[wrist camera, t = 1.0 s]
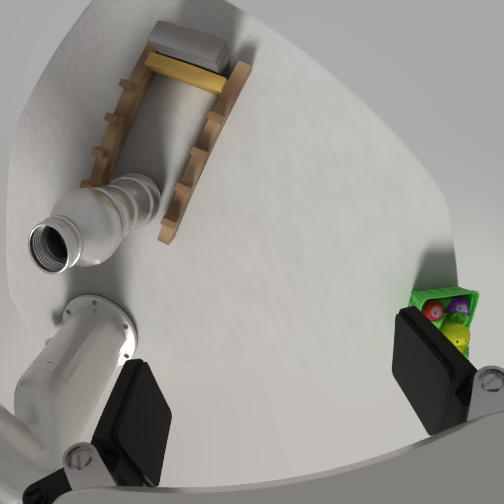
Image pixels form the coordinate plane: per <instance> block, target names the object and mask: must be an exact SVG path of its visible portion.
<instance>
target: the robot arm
mask: <svg viewBox="0 0 504 504" xmlns="http://www.w3.org/2000/svg"><path fill="white" fill-rule="evenodd" d="M45 345H46V347H45V348H44V349H43V350H42V352H41V353H40V354H39V355H38V356H37V358H36V359H35V360H34V361H33V363H32V364H31V365H30V366H29V368H28V369H27V370H26V371H25V373H24V374H23V375H22V376H21V378H20V379H19V381H18V383H17V386H16V389H15V395H14V410H15V416H14V415H12V414H10V412H8V410H6V409H5V408H4V407H3V406H2V405H1V404H0V504H504V369H503V368H501V367H498V366H486V367H483V368H481V369H479V370H477V369H476V368H475V367H474V366H473V365H472V364H471V363H470V362H469V360H468V359H467V358H466V357H465V356H464V355H463V354H462V353H461V352H460V351H459V350H458V349H457V348H456V347H455V345H454V344H453V343H452V342H451V341H450V340H449V339H448V338H447V337H446V336H445V335H444V334H443V333H442V332H441V331H440V330H439V329H438V328H437V327H436V326H435V325H434V324H433V323H432V322H431V321H430V320H429V319H428V318H427V317H426V316H425V315H424V314H423V313H422V312H421V311H420V310H419V309H418V308H417V307H416V306H414V305H413V306H409V307H406V308H403V309H400V311H399V314H397V315H396V317H395V335H394V349H393V361H392V373H393V376H394V378H395V379H396V381H397V382H398V384H399V386H400V387H401V389H402V391H403V392H404V394H405V396H406V397H407V399H408V401H409V402H410V404H411V405H412V407H413V409H414V411H415V412H416V414H417V416H418V417H419V419H420V421H421V422H422V424H423V426H424V427H425V429H426V431H427V433H428V434H429V435H430V436H431V437H429V438H426V439H424V440H421V441H419V442H416V443H414V444H411V445H408V446H406V447H403V448H400V449H397V450H395V451H392V452H389V453H386V454H383V455H380V456H377V457H374V458H371V459H367V460H364V461H361V462H357V463H354V464H350V465H347V466H343V467H339V468H335V469H331V470H327V471H322V472H318V473H313V474H309V475H304V476H298V477H293V478H287V479H281V480H274V481H267V482H260V483H251V484H242V485H232V486H216V487H190V488H188V487H187V488H186V487H185V488H177V487H176V488H168V487H164V488H163V487H157V486H158V485H159V482H160V476H161V470H162V466H163V460H164V454H165V450H166V444H167V439H168V434H169V429H170V424H171V418H172V414H171V410H170V408H169V406H168V404H167V402H166V400H165V399H164V396H163V394H162V392H161V390H160V388H159V386H158V384H157V382H156V380H155V378H154V376H153V374H152V371H151V369H150V367H149V365H148V363H147V362H143V360H142V359H131V358H132V357H133V355H134V353H135V351H136V348H137V334H136V331H135V327H134V325H133V324H132V322H131V320H130V318H129V317H128V316H127V314H126V313H125V312H124V311H123V310H122V309H121V308H120V307H119V306H117V305H116V304H115V303H113V302H112V301H110V300H108V299H106V298H104V297H101V296H98V295H92V294H85V295H81V296H78V297H76V298H74V299H73V300H72V301H71V302H70V303H69V304H68V305H67V306H66V308H65V310H64V313H63V326H62V328H61V329H60V330H59V331H58V332H57V333H56V335H55V336H54V337H53V338H50V339H47V340H46V342H45ZM130 359H131V360H130ZM121 365H124V366H123V368H122V370H121V372H120V374H119V377H118V379H117V381H116V383H115V386H114V388H113V390H112V392H111V394H110V397H109V399H108V401H107V404H106V406H105V408H104V410H103V413H102V415H101V417H100V420H99V422H98V425H97V427H96V429H95V432H94V434H93V437H92V441H91V443H86V442H81V439H82V436H83V434H84V432H85V430H86V427H87V425H88V423H89V421H90V419H91V417H92V415H93V413H94V411H95V408H96V406H97V404H98V402H99V400H100V398H101V396H102V394H103V392H104V390H105V388H106V386H107V384H108V382H109V380H110V378H111V376H112V374H113V372H114V370H115V368H116V367H117V366H121ZM432 435H433V436H432Z"/></svg>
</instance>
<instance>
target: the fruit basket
mask: <svg viewBox="0 0 504 504" xmlns="http://www.w3.org/2000/svg"><path fill="white" fill-rule="evenodd" d="M411 297H412V298H411V300H410V303H409V306H413V305H414V306H416V307H417V308H418V309H419V310H420V311H421V312H422V313H423V314H424V315H425V316H426V317H427V318H428V319H429V320H430V321H431V322H432V323H433V324H434V325H435V326H436V327H437V328H438V329H439V330H440V331H441V332H442V333H443V334H444V335H445V336H446V337H447V338H448V339H449V340H450V341H451V342H452V343H453V344H454V345H455V347H456V348H457V349H458V350H459V351H460V352H461V353H462V354H463V355H464V356H465V357H466V358H467V359H468V356H469V348H468V344H469V341H470V332H469V328H470V324H471V322H472V319H473V316H474V312H475V309H476V306H477V303H478V298H479V293H478V292H477V291H470V290H467V289H463V288H460V287H457V286H451V287H448V288H446V287H443V288H437V289H425V290H423V291H422V290H415V291H412V292H411Z"/></svg>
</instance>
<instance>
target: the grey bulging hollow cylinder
mask: <svg viewBox="0 0 504 504" xmlns="http://www.w3.org/2000/svg"><path fill="white" fill-rule="evenodd" d="M160 200H161V197H160V192H159V189H158V187H157V185H156V184H155V183H154V181H153V180H152V179H150V178H149V177H147V176H145V175H142V174H138V173H127V174H124V175H121V176H119V177H118V178H116V179H115V180H113V181H112V182H111V183H110V184H108V185H106V186H103V187H99V188H80V189H75V190H72V191H70V192H68V193H66V194H65V195H64V196H63V197H61V199H60V200H59V201H58V202H57V203H56V205H55V206H54V207H53V209H52V211H51V214H50V217H49V218H47V219H46V220H44V221H43V222H41V223H39V224H37V225H36V226H35V227H34V228H33V229H32V231H31V232H30V235H29V238H28V250H29V253H30V256H31V258H32V260H33V262H34V263H35V265H36V266H37V267H38V268H39V269H40V270H42V271H43V272H45V273H48V274H58V273H61V272H63V271H64V270H65V269H67V268H69V267H71V266H73V265H77V266H84V267H85V266H92V265H97V264H100V263H102V262H104V261H105V260H107V259H108V258H109V257H110V256H111V255H112V254H113V253H114V252H115V251H116V249H117V247H118V246H119V244H120V243H121V241H122V239H123V238H124V237H125V236H126V235H127V234H128V233H129V232H130V231H131V230H133V229H137V228H140V227H142V226H145V225H146V224H148V223H149V222H151V221H152V220H153V218H154V217H155V216H156V214H157V211H158V209H159V206H160Z"/></svg>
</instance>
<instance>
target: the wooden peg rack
mask: <svg viewBox="0 0 504 504" xmlns="http://www.w3.org/2000/svg"><path fill="white" fill-rule="evenodd" d="M147 40H148V41H149V42H148V44H147V45H146V47H145V49H144V51H143V53H142V55H141V57H140V59H139V60H138V62H137V64H136V66H135V68H134V70H133V72H132V74H131V76H130V79H129V81H127V80H124V79H121V80H120V83H119V85H118V86H121V87H123V88H125V89H124V91H123V93H122V96H121V98H120V100H119V102H118V105H117V107H116V109H115V112H114V114H110V113H106V115H105V117H104V119H103V120H106V121H109V122H110V124H109V126H108V129H107V131H106V134H105V137H104V139H103V142H102V145H101V147H93V149H92V151H91V154H92V155H94V156H97V159H96V162H95V165H94V167H93V171H92V174H91V177H90V179H88V180H84V181H82V182H81V186H80V188H99V187H103V186H106V185H108V184H109V182H110V179H111V176H112V173H113V171H114V168H115V165H116V162H117V159H118V157H119V154H120V152H121V149H122V146H123V144H124V141H125V139H126V136H127V134H128V131H129V129H130V127H131V124H132V122H133V119H134V117H135V115H136V113H137V110H138V108H139V106H140V104H141V101H142V99H143V97H144V95H145V93H146V91H147V89H148V86H149V84H150V82H151V80H152V78H153V76H154V74H155V73H158V74H161V75H164V76H167V77H170V78H173V79H175V80H178V81H181V82H184V83H187V84H189V85H192V86H195V87H197V88H200V89H202V90H205V91H208V92H210V93H213V94H215V95H218V96H220V97H219V99H218V101H217V103H216V105H215V107H214V109H213V111H209V113H208V115H207V117H206V118H207V119H208V121H207V123H206V125H205V128H204V130H203V132H202V134H201V136H200V138H199V140H198V143H197V145H196V146H193V147H192V149H191V151H190V153H189V154H192V156H191V158H190V160H189V163H188V165H187V167H186V169H185V172H184V174H183V176H182V179H181V180H180V181H178V182H177V183H176V186H175V188H174V190H177V191H176V193H175V195H174V198H173V200H172V203H171V205H170V208H169V210H168V213H167V214H166V215H165V216H164V217H163V218H162V221H161V223H160V224H162V225H163V226H162V228H161V231H160V233H159V236H158V239H157V240H158V241H161V242H163V243H165V244H167V245H169V244H170V243H171V241H172V240H173V239H174V237H175V235H176V232H177V230H178V227H179V225H180V222H181V220H182V218H183V215H184V213H185V210H186V208H187V206H188V203H189V201H190V198H191V196H192V194H193V192H194V189H195V187H196V185H197V182H198V180H199V178H200V176H201V173H202V171H203V169H204V167H205V164H206V162H207V160H208V158H209V156H210V154H211V151H212V149H213V147H214V145H215V143H216V141H217V139H218V137H219V134H220V132H221V130H222V128H223V126H224V124H225V122H226V120H227V118H228V116H229V114H230V112H231V110H232V108H233V106H234V104H235V102H236V100H237V98H238V96H239V94H240V92H241V90H242V88H243V86H244V85H245V83H246V81H247V79H248V77H249V75H250V73H251V67H252V66H251V65H249V64H247V63H244V62H242V61H238V63H237V65H236V66H235V68H234V70H233V72H232V74H231V76H230V78H229V80H228V81H227V78H224V77H225V75H226V73H227V71H228V69H229V68H230V62H229V56H228V51H227V45H226V41H223V40H220V39H217V38H214V37H212V36H209V35H206V34H203V33H200V32H196V31H193V30H190V29H187V28H183V27H180V26H177V25H173V24H169V23H166V22H162V21H157V23H156V25H155V26H154V28H153V30H152V32H151V33H150V35H149V37H148V39H147Z"/></svg>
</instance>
